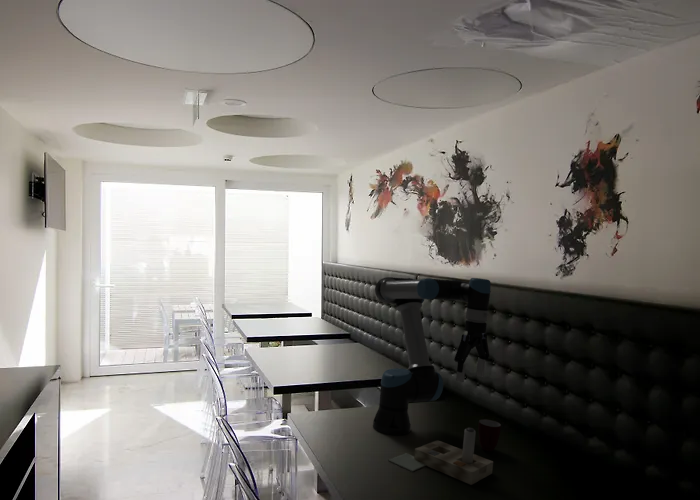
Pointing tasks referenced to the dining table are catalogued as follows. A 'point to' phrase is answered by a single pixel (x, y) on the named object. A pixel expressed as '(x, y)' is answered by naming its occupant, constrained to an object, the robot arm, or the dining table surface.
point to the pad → (407, 462)
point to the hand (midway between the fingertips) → (470, 378)
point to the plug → (468, 446)
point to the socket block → (453, 462)
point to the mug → (488, 434)
